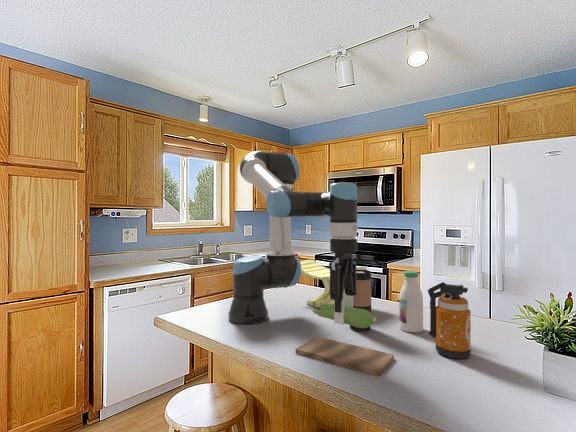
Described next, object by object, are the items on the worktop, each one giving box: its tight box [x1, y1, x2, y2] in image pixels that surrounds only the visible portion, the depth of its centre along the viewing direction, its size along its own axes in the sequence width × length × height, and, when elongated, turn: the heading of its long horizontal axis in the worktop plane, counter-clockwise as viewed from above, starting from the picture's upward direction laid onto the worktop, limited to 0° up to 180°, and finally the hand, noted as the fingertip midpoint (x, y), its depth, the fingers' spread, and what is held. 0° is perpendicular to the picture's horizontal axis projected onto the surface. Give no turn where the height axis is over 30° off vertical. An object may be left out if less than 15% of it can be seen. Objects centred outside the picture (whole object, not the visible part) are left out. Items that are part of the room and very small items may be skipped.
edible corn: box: [312, 303, 377, 328], centre depth 95 cm, size 5×20×5 cm
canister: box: [427, 281, 472, 359], centre depth 96 cm, size 9×11×20 cm
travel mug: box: [349, 269, 372, 333], centre depth 117 cm, size 8×8×20 cm
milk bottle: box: [398, 270, 424, 333], centre depth 116 cm, size 8×8×20 cm
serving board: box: [295, 335, 395, 377], centre depth 94 cm, size 24×12×1 cm, turn 56°
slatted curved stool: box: [300, 259, 368, 308], centre depth 149 cm, size 30×16×18 cm, turn 44°
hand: (343, 320), depth 94 cm, fingers closed on edible corn, 5 cm apart
